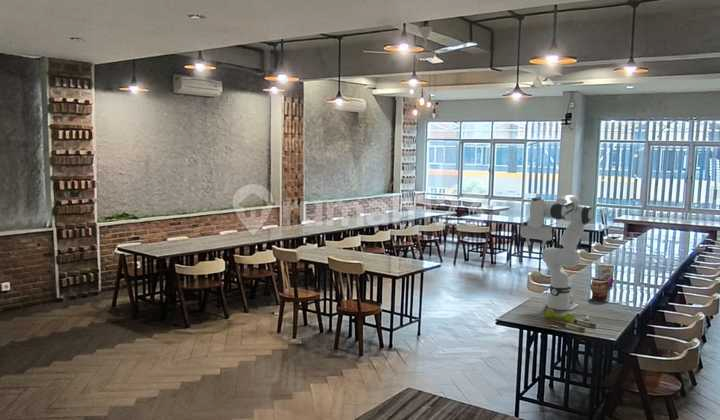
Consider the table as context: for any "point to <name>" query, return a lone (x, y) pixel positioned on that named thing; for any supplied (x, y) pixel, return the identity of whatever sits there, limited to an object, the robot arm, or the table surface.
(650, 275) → the table surface
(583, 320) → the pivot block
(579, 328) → the beam slot
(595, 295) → the decorative planter
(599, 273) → the candy bar box
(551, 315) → the dumbbell
